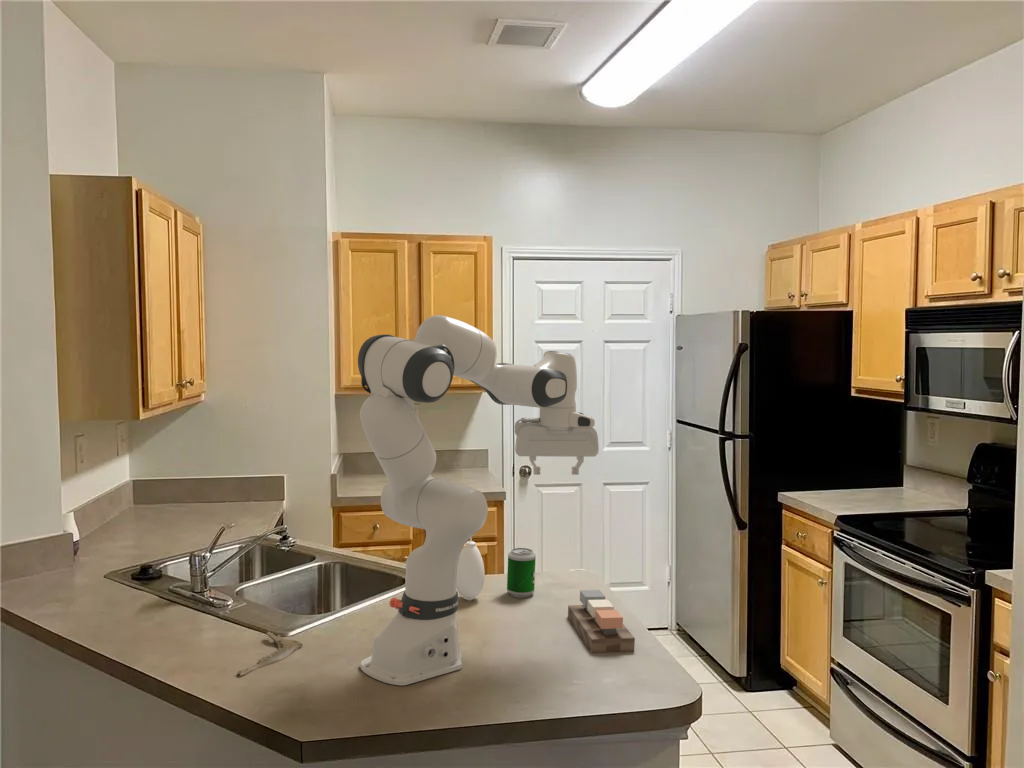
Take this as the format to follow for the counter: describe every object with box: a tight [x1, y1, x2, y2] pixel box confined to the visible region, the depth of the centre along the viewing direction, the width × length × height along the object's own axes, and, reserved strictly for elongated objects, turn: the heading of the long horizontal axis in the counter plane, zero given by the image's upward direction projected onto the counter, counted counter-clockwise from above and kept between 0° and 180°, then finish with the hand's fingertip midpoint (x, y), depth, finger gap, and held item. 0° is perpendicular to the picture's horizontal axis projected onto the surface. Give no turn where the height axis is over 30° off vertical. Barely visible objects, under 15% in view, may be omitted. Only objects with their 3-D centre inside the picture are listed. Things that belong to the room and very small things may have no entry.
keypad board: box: [567, 604, 636, 654], centre depth 188 cm, size 22×10×3 cm, turn 10°
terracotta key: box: [595, 609, 624, 635], centre depth 181 cm, size 5×5×6 cm
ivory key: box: [587, 598, 615, 624], centre depth 188 cm, size 5×5×6 cm
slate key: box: [579, 589, 606, 613], centre depth 195 cm, size 5×5×6 cm
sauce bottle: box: [456, 535, 486, 601], centre depth 208 cm, size 8×8×18 cm
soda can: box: [506, 547, 537, 598], centre depth 214 cm, size 8×8×12 cm
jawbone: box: [236, 631, 303, 677], centre depth 169 cm, size 9×20×2 cm, turn 0°
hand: (556, 474), depth 192 cm, fingers open, 8 cm apart
